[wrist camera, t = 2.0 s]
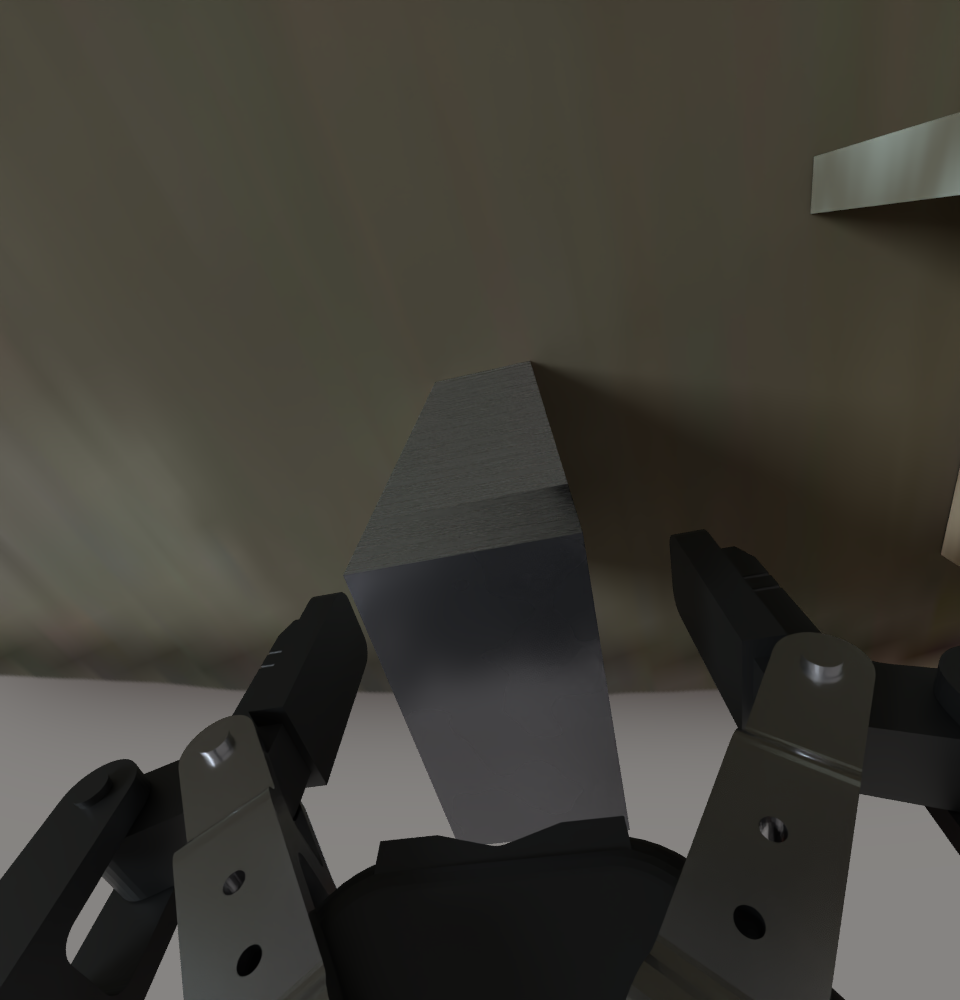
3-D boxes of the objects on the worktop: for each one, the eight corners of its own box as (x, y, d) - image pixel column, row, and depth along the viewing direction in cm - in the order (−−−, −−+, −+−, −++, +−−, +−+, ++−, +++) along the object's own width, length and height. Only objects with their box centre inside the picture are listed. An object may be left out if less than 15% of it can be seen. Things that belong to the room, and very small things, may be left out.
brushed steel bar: (435, 382, 18) (343, 575, 7) (530, 361, 17) (582, 532, 7) (478, 542, 21) (459, 846, 10) (560, 528, 20) (629, 829, 10)
